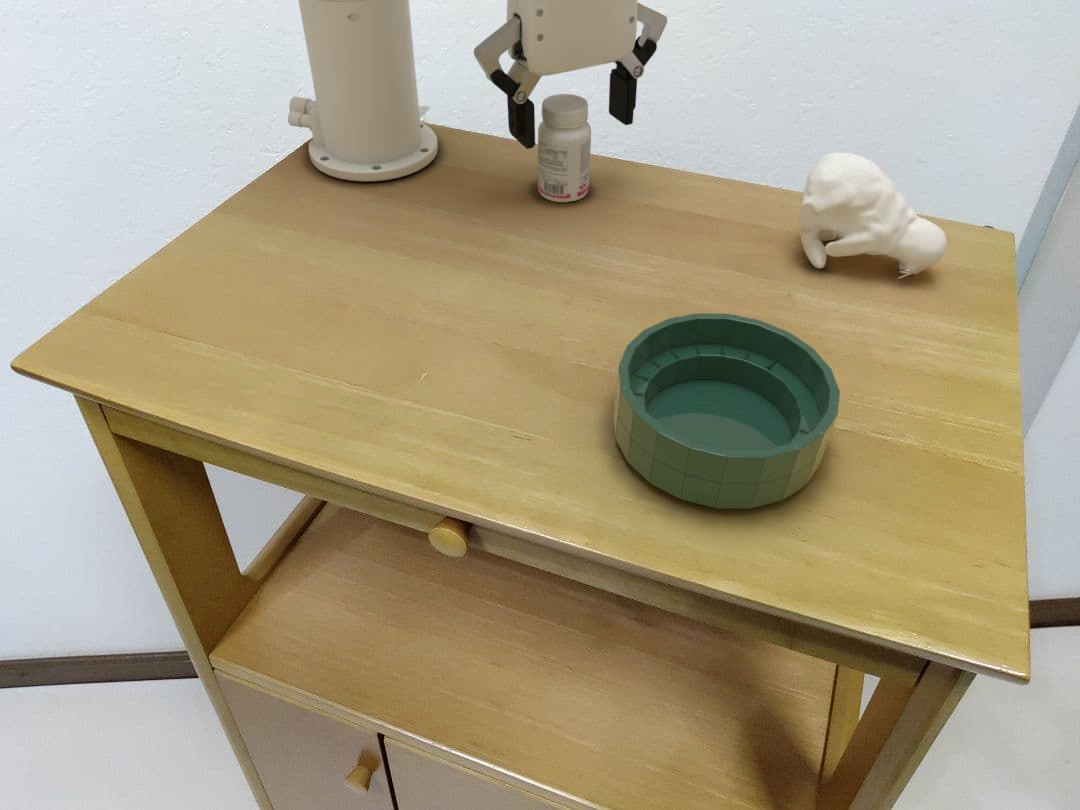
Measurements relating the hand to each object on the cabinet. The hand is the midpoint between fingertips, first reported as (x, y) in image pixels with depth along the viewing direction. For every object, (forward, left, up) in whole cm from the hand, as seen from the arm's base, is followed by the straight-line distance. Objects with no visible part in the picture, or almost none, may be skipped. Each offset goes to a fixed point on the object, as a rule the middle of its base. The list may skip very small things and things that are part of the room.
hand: (573, 130), depth 72 cm
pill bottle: (-1, 0, -6) cm, 6 cm away
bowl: (+18, -27, -6) cm, 33 cm away
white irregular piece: (+26, -3, -6) cm, 27 cm away
